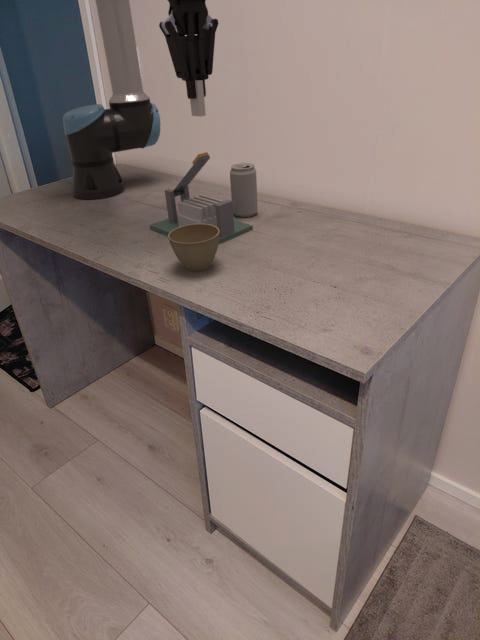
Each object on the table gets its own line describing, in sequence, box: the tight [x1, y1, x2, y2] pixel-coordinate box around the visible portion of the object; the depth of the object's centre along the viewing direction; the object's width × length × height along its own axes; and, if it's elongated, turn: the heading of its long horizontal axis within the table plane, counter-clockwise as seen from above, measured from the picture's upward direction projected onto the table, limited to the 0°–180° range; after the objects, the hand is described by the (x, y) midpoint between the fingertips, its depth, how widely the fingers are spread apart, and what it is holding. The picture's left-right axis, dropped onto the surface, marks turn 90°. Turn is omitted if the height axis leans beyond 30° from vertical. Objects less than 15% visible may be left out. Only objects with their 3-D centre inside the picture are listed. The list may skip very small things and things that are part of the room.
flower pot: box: [167, 223, 220, 272], centre depth 93 cm, size 10×10×7 cm
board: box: [149, 185, 254, 245], centre depth 110 cm, size 20×15×8 cm
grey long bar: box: [172, 151, 211, 198], centre depth 107 cm, size 16×3×2 cm
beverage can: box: [229, 162, 259, 218], centre depth 116 cm, size 6×6×12 cm
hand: (198, 115), depth 98 cm, fingers closed
